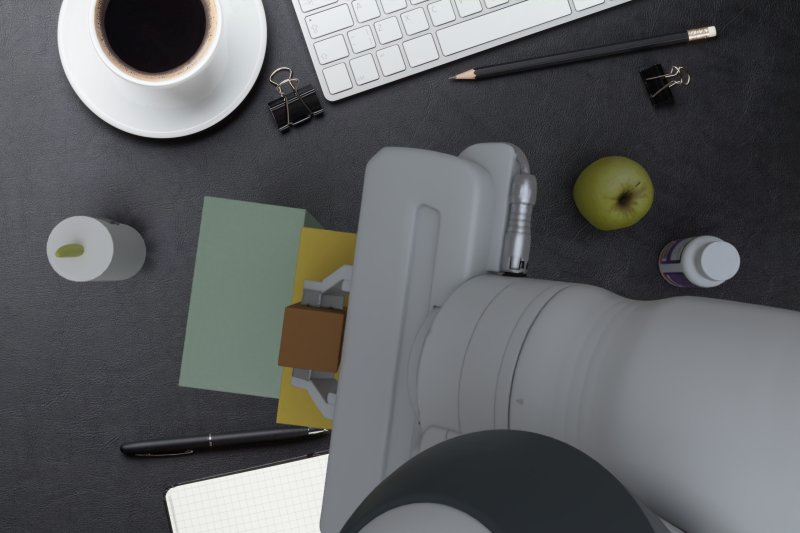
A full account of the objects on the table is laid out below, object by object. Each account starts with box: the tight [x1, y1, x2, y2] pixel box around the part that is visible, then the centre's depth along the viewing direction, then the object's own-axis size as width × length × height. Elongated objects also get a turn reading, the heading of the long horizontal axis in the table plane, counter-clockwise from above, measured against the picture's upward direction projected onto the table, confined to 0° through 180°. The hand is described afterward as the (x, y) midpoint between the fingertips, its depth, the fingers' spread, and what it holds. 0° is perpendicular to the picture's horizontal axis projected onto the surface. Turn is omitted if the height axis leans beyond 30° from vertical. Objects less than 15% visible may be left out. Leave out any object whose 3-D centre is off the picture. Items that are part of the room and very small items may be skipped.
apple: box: [572, 155, 655, 231], centre depth 80 cm, size 8×8×10 cm
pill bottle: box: [658, 235, 741, 288], centre depth 80 cm, size 5×5×10 cm
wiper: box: [275, 227, 357, 431], centre depth 43 cm, size 12×4×10 cm, turn 173°
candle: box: [46, 215, 147, 283], centre depth 75 cm, size 6×6×15 cm
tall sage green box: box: [178, 195, 326, 400], centre depth 71 cm, size 15×8×24 cm, turn 172°
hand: (306, 332), depth 42 cm, fingers closed on wiper, 3 cm apart
